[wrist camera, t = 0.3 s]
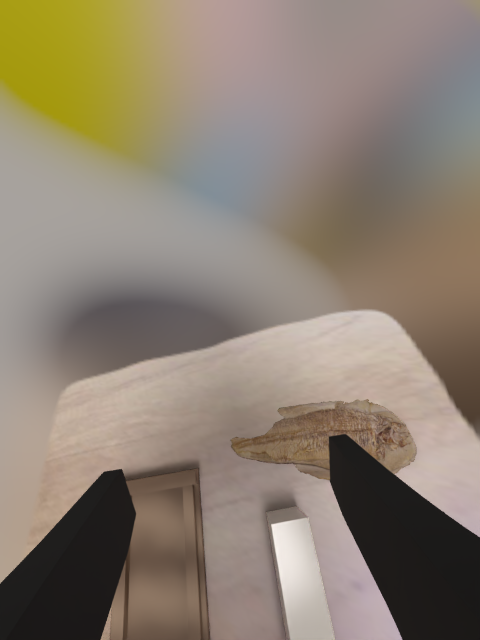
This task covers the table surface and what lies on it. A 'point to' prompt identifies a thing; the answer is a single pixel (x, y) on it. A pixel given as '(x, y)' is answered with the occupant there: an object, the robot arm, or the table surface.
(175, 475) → the rack
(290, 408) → the fish fossil
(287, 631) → the clay bar
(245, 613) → the table surface
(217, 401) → the table surface
